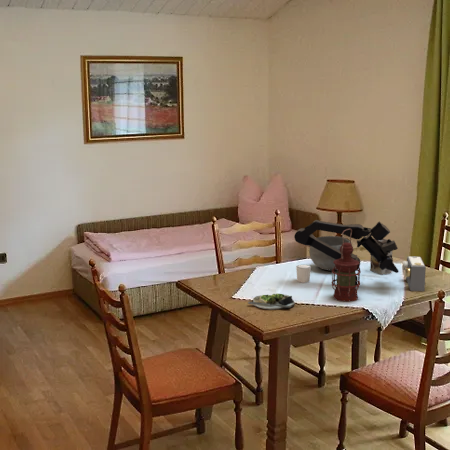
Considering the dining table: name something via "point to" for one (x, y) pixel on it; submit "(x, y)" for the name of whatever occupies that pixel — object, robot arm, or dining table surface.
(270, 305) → the salad plate
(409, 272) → the brass button
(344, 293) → the lantern
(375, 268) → the coffee box
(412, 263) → the console
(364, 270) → the dining table surface
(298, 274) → the white cup
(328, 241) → the bowl
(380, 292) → the dining table surface
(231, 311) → the dining table surface
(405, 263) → the cream button
